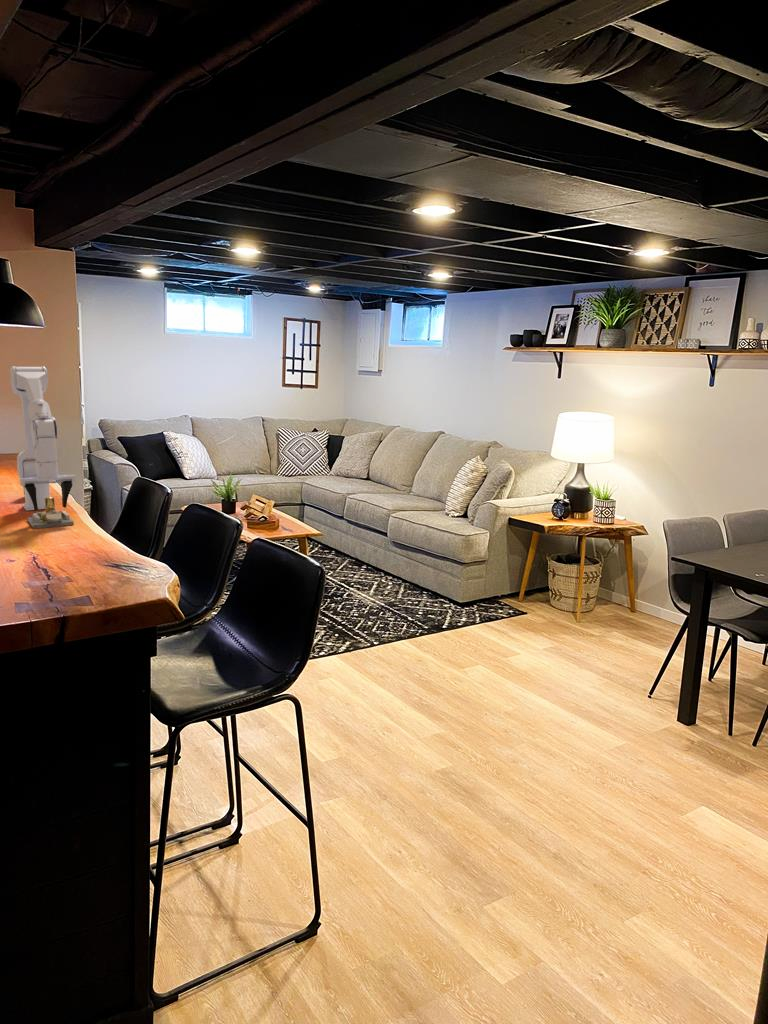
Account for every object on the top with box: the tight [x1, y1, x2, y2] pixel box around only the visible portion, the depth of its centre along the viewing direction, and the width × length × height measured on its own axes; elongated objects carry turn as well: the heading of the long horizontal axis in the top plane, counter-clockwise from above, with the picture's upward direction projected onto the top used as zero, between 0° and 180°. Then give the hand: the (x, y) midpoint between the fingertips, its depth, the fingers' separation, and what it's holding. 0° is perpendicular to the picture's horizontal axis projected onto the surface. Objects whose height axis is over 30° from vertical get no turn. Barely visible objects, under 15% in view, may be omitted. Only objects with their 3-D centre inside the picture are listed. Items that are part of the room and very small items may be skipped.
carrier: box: [26, 509, 74, 530], centre depth 219 cm, size 12×10×4 cm
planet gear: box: [41, 496, 56, 520], centre depth 221 cm, size 5×5×6 cm
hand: (50, 508), depth 220 cm, fingers open, 7 cm apart
